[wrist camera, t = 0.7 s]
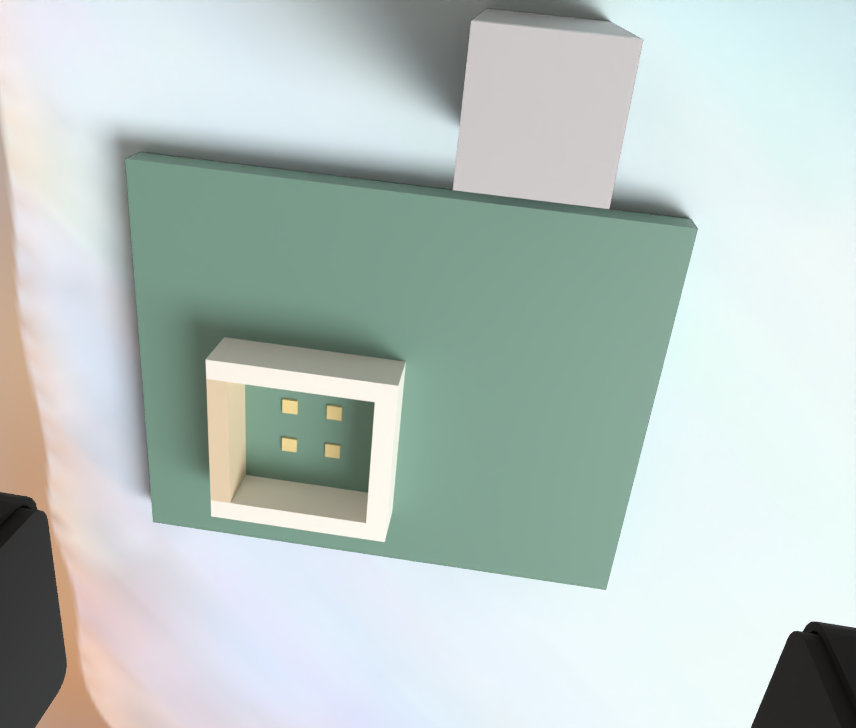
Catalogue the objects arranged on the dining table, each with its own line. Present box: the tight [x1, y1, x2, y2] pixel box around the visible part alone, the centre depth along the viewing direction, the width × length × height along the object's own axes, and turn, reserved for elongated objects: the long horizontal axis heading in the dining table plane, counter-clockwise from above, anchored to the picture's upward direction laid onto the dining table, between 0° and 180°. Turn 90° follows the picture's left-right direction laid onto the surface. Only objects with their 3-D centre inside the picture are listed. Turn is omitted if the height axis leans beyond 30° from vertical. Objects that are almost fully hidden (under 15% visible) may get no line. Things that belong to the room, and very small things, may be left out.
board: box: [125, 152, 698, 590], centre depth 31 cm, size 16×20×3 cm
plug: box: [453, 8, 643, 209], centre depth 23 cm, size 4×4×8 cm
